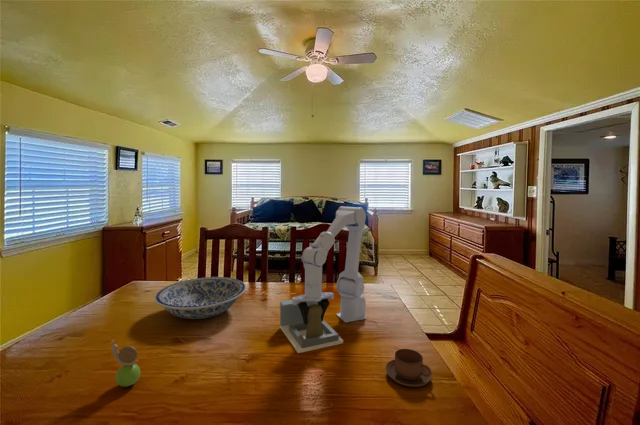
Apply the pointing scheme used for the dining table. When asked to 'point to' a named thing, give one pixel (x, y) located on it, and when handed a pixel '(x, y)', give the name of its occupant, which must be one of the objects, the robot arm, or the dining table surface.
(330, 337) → the socket block
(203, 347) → the dining table surface
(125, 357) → the snail figurine
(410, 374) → the cup and saucer
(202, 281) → the ceramic bowl
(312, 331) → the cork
